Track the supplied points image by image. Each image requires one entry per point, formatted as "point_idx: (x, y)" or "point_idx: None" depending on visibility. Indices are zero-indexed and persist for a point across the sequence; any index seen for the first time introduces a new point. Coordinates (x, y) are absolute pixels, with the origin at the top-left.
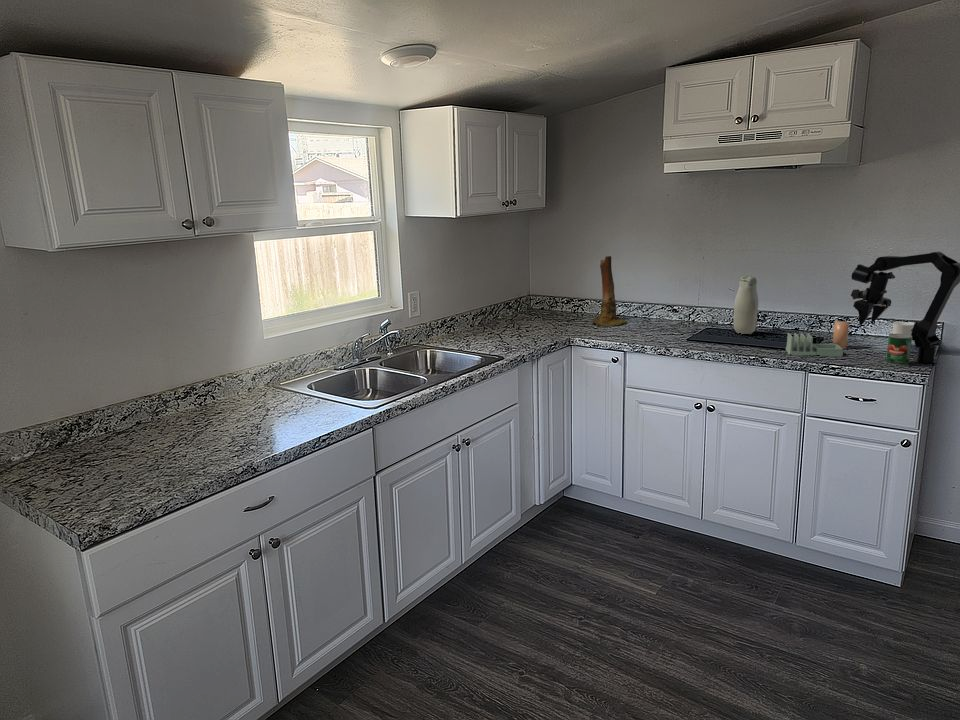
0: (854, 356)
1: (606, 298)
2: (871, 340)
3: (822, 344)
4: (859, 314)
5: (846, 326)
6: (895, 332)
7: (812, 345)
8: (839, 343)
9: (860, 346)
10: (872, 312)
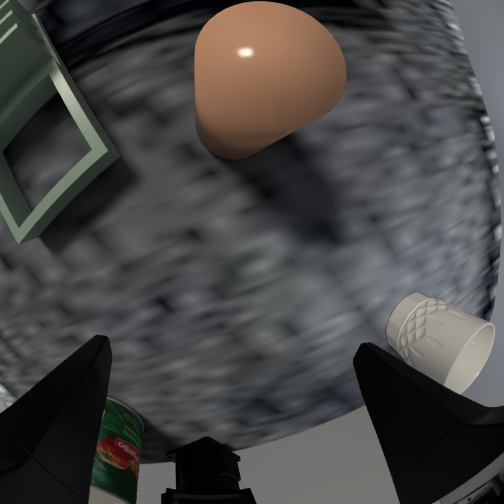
0: (77, 275)
1: None
2: (451, 197)
3: (62, 97)
4: (9, 418)
5: (232, 123)
6: (431, 338)
7: (51, 68)
8: (197, 126)
9: (334, 199)
10: (427, 398)
